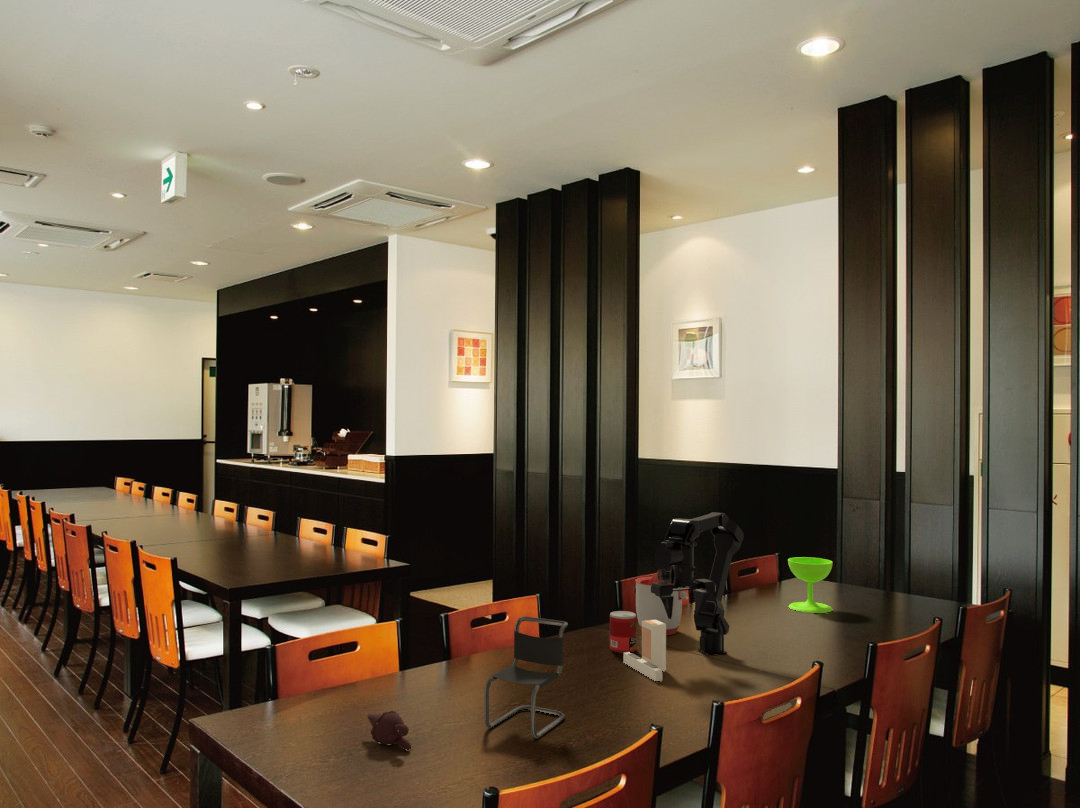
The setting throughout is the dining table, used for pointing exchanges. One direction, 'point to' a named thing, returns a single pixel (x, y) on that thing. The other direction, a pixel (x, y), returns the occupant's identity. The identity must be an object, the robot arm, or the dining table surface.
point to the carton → (654, 643)
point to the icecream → (389, 729)
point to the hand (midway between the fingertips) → (683, 617)
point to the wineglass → (810, 581)
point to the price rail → (643, 666)
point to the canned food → (623, 631)
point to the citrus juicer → (657, 604)
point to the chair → (536, 652)
